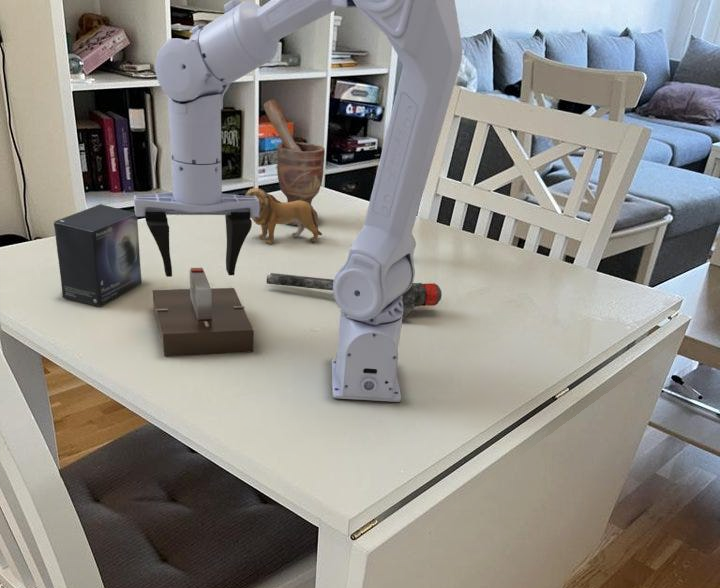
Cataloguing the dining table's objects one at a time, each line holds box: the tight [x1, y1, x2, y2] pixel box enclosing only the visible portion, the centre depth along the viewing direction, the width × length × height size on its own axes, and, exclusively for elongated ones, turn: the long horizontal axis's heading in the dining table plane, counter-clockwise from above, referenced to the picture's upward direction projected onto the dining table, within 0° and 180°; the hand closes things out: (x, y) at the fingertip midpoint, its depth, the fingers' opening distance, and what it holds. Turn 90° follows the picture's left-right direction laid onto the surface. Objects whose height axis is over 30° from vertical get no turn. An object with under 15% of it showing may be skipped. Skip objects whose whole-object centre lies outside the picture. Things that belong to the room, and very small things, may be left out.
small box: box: [53, 203, 142, 307], centre depth 104 cm, size 11×6×10 cm, turn 161°
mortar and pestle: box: [263, 98, 326, 226], centre depth 137 cm, size 12×9×20 cm
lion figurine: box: [244, 187, 323, 245], centre depth 129 cm, size 15×5×9 cm, turn 118°
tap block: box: [151, 287, 255, 357], centre depth 98 cm, size 14×11×3 cm
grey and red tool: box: [266, 272, 443, 320], centre depth 113 cm, size 6×26×15 cm
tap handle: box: [188, 267, 212, 320], centre depth 96 cm, size 7×2×4 cm, turn 18°
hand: (199, 273), depth 95 cm, fingers open, 7 cm apart
